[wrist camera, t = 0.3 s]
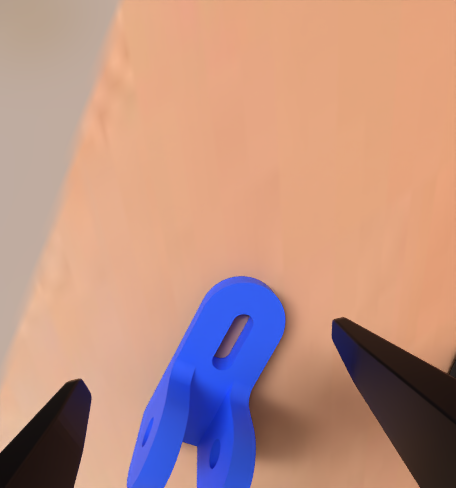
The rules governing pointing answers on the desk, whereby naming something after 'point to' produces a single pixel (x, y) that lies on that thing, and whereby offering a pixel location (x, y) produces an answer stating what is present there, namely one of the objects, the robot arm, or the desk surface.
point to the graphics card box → (453, 371)
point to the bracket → (211, 391)
